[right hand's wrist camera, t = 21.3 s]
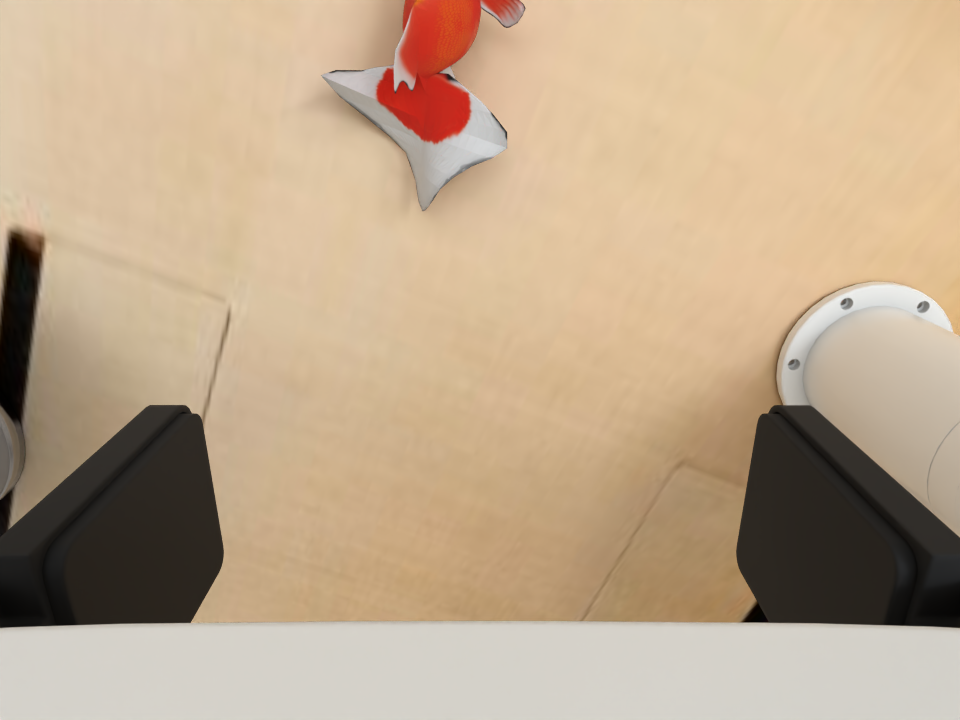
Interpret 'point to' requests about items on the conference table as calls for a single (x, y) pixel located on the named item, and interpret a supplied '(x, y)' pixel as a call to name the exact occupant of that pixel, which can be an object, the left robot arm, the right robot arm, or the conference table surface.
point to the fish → (431, 92)
